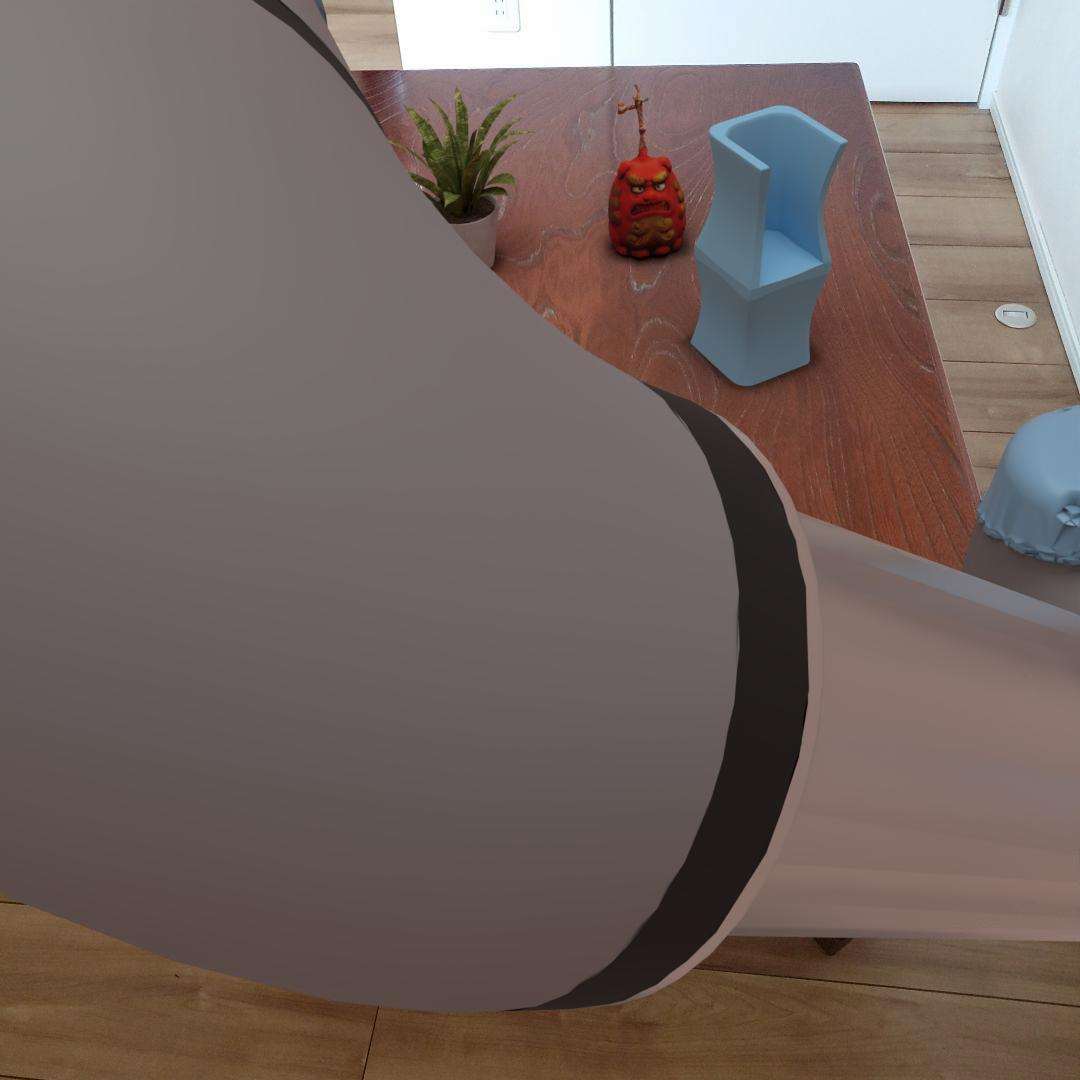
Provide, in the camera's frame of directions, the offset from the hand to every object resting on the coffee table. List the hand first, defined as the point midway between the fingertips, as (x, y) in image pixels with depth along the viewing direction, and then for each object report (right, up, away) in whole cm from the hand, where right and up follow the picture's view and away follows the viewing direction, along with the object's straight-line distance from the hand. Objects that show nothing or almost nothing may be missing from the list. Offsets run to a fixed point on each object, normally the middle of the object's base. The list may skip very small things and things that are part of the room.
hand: (426, 491), depth 64 cm
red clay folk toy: (+17, +27, +48) cm, 57 cm away
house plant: (+1, +25, +47) cm, 53 cm away
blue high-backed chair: (+25, +14, +34) cm, 45 cm away
